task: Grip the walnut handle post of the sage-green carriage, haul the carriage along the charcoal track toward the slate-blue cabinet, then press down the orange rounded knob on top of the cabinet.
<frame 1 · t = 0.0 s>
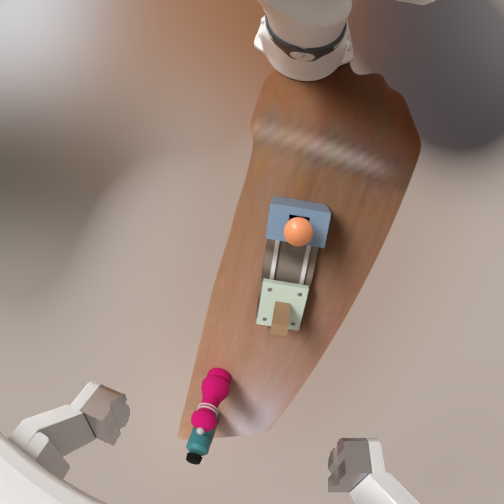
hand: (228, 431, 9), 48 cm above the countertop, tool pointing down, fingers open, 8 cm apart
carriage: (280, 315, 54), point 7 cm above the countertop, slide at 0.0 cm
track: (286, 277, 59), on the countertop
orange rounded knob: (298, 228, 45), point 9 cm above the countertop, slide at 2.0 cm
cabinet: (297, 215, 54), on the countertop
pepper mill: (219, 375, 71), on the countertop
beverage bottle: (210, 410, 77), on the countertop
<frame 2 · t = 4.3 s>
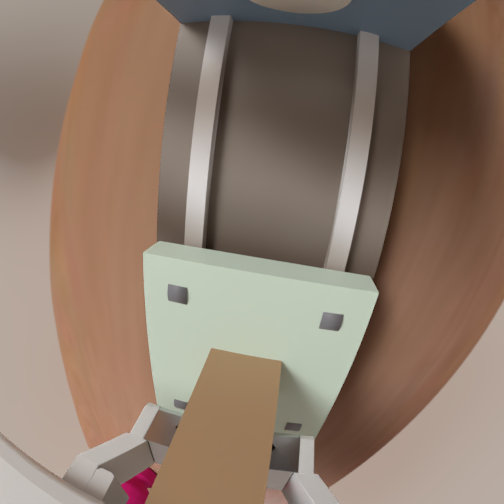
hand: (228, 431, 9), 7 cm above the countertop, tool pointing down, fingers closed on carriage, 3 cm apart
carriage: (228, 431, 9), point 7 cm above the countertop, slide at 0.0 cm, touching gripper
track: (268, 241, 14), on the countertop
pepper mill: (135, 465, 26), on the countertop
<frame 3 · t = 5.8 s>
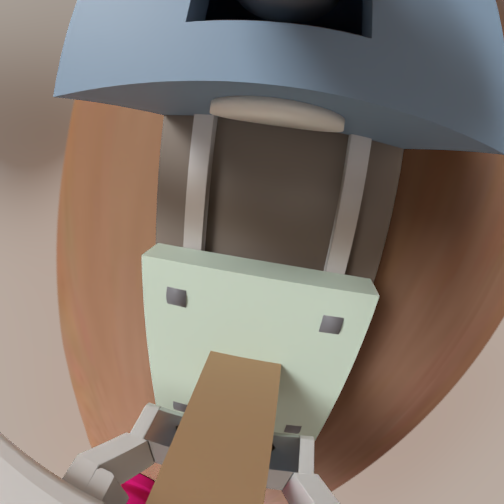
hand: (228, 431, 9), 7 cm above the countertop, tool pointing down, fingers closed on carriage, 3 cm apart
carriage: (227, 434, 9), point 7 cm above the countertop, slide at 4.6 cm, touching gripper
track: (255, 323, 15), on the countertop
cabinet: (292, 65, 11), on the countertop
pepper mill: (140, 478, 28), on the countertop
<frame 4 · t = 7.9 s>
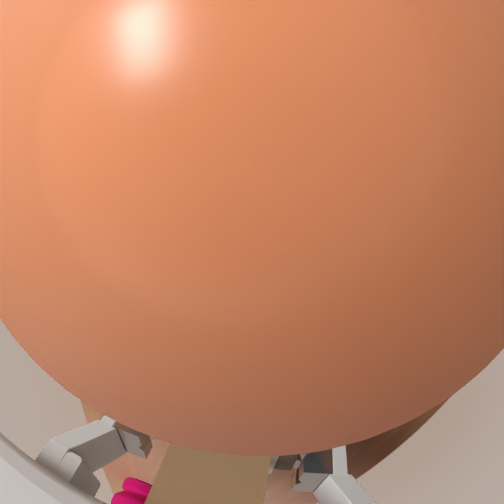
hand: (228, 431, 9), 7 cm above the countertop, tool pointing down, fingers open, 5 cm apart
carriage: (228, 431, 9), point 7 cm above the countertop, slide at 8.5 cm
track: (247, 372, 17), on the countertop
orange rounded knob: (249, 125, 3), point 10 cm above the countertop, slide at 2.0 cm
pepper mill: (145, 486, 29), on the countertop
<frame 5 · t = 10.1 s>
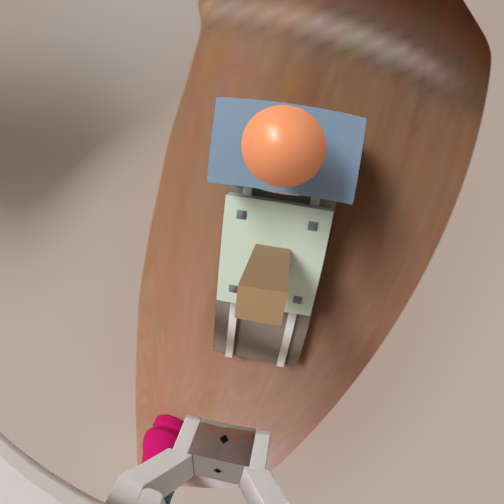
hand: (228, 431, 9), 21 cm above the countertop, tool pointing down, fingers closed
carriage: (267, 274, 22), point 7 cm above the countertop, slide at 8.5 cm
track: (269, 277, 30), on the countertop
orange rounded knob: (285, 146, 16), point 10 cm above the countertop, slide at 2.0 cm
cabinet: (288, 149, 25), on the countertop
pepper mill: (173, 424, 42), on the countertop
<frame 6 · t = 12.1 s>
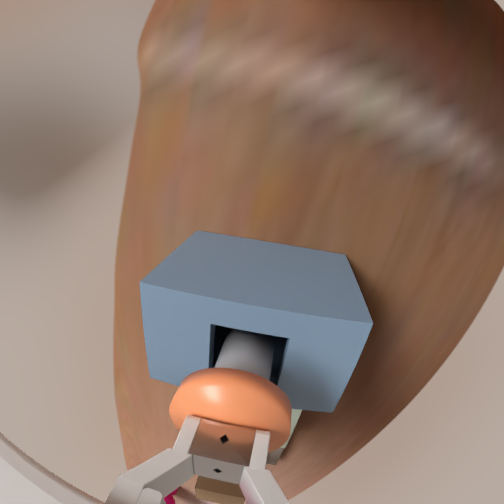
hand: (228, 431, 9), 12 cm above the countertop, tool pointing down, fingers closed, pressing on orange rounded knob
carriage: (233, 443, 17), point 7 cm above the countertop, slide at 8.5 cm
orange rounded knob: (240, 381, 11), point 9 cm above the countertop, slide at 1.9 cm, touching gripper
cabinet: (264, 283, 20), on the countertop
pepper mill: (162, 480, 37), on the countertop
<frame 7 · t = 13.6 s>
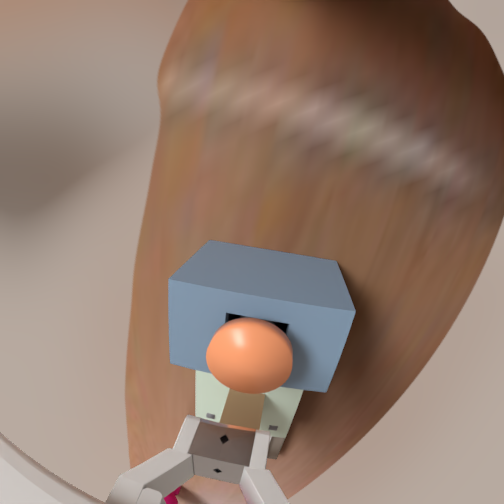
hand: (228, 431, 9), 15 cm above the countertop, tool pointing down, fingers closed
carriage: (239, 427, 19), point 7 cm above the countertop, slide at 8.5 cm
orange rounded knob: (254, 337, 16), point 7 cm above the countertop, slide at -0.2 cm
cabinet: (267, 285, 23), on the countertop
pepper mill: (165, 480, 38), on the countertop
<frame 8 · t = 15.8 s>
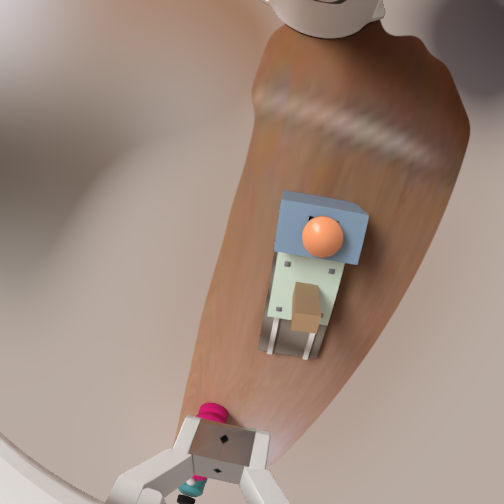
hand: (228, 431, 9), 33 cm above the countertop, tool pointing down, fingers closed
carriage: (305, 302, 36), point 7 cm above the countertop, slide at 8.5 cm
track: (299, 299, 43), on the countertop
orange rounded knob: (321, 231, 32), point 7 cm above the countertop, slide at -0.2 cm
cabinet: (316, 217, 39), on the countertop
pepper mill: (214, 410, 56), on the countertop
beverage bottle: (205, 443, 62), on the countertop
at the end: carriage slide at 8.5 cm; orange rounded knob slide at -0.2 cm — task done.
